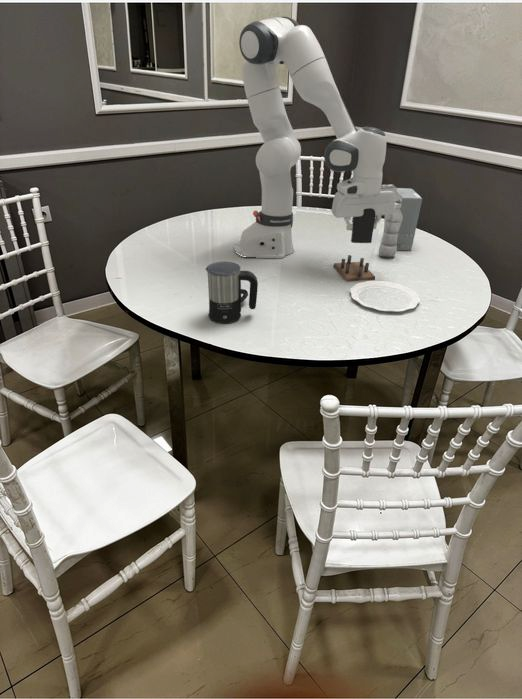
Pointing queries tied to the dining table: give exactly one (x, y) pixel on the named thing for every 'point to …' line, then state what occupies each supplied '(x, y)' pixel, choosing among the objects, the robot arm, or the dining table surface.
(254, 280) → the milk frother
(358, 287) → the plate
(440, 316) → the dining table surface
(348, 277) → the brown pegboard
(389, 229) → the plastic bottle
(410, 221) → the hard drive box
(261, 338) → the dining table surface
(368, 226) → the battery charger
